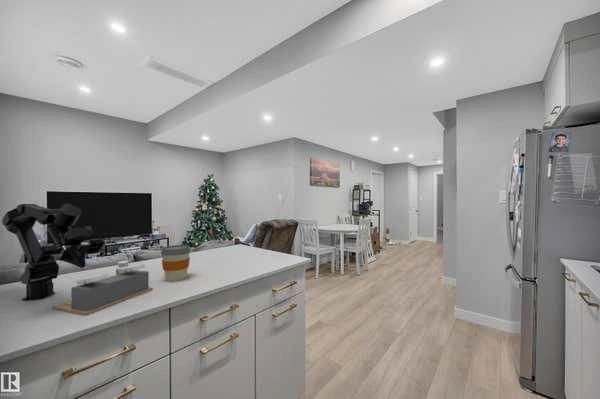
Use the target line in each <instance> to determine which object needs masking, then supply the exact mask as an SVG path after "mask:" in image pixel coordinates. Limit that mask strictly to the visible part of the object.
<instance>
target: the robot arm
mask: <svg viewBox="0 0 600 399" xmlns="http://www.w3.org/2000/svg"><path fill="white" fill-rule="evenodd" d="M81 214H82V209H81V208H79V207H77V206H74V205H72V204H71V203H62V206H61V207H60V208H54V209H53V208H52V209H51V208H49V207H48V208H47V207H44V206H40V205H38V204H35V203H21V204H18V205H17V206H16V208H15V207H14V208H13V209H11V210H8V211H7V212H5V214H4V216H3V217H2V220H1V221H2V222H1V223H2V226H4V227H5V229H6V230H7V231H8V232H10V233H12V234H14V235H16V237H17V239H18V242H19V244H20V246H21V248H22V251H23V253H24V255H25V257H26V259H27V262H28V263H27V264H26V266H25V267H24V272H23V273H22V275H21V277H20V282H21V284H23V285H26V288H25V290H26V293H25V296H26V297H24V298H22V299H21V300H22V301H28V300H30V301H31V300H42V299H44V298H47V297H49V296H51V295H52V296H53V294H56V291H54V282H53V279H57V278H58V275H59V270H60V265H59V264H58V263H57V262H58V261H60V262H61V261H62V262H65V263H68V264H71V265H74V266H75V267H78V268H81V269H83V268H86V254H88V255H91V254H97V253H99V252H100V251H101V249H103V247H104V245H105V244H106V242H105V240H104V239H103V238H96V239H95V238H94V239H90V240H89V241H88V243H84V241H85V238H86V237H89V236H91V235H93V233H94V231H93V228H92V227H91V226H89V225H88V226H84V227H83V226H82V227H74V228H71V227H72V226H74V225H75V224H76V223H77V221H78V220H79V218H80V216H81ZM36 223H38V224H40V225H41V226H42V225H43V226H45V225H48V226H47V231H46V232H45V233H46V235H47V236H51V238H52V239H53V242H52V244H48V245H41V243H40V240H39V238H38V237H37V235H36V233H35V231H34V229H33V228H34V226H35V224H36ZM83 243H84V244H83ZM56 255H59V257H58V261H56V259H55V257H54V256H56Z"/></svg>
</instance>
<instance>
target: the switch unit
mask: <svg viewBox="0 0 600 399" xmlns="http://www.w3.org/2000/svg"><path fill="white" fill-rule="evenodd" d="M149 274H150V273H149V271H145V270H139V269H138V270H135V271H131V272H128V273H122V274H119V275H116V274H115V275H112V276H108V277H109V278H106V279H102V280H99V281H95V282H92V283H88V284H80V285H76V286H73V287H70V288H71V289H70V290H71V294H70V295H71V296H70V299H71V300H69V301H66V302H64V303H61V304H57V305H54V306H52V308H51V309H52V310H54V311H60V312H66V313H71V314H76V315H81V316H89V315H91V314H93V313H96V312H99V311H102V310H104V309H107V308H109V307H112V306H114V305H116V304H119V303H123V302H124V301H127V300H130V299H132V298H135V297H138V296H140V295H143V294H146V293H148V292H150V291H152V290H153V287H151V286H150V285H149V280H150V279H149V278H150V277H149Z"/></svg>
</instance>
